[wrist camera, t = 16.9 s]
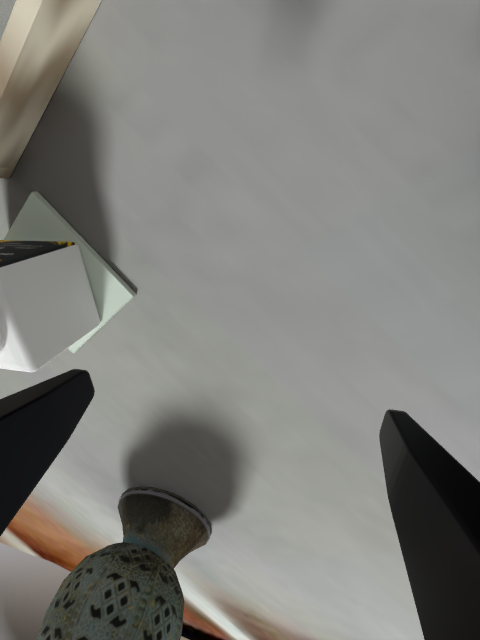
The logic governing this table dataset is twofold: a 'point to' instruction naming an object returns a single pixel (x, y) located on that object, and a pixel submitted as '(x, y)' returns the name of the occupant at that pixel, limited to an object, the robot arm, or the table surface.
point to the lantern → (131, 575)
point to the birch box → (35, 66)
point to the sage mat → (105, 283)
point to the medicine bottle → (42, 302)
